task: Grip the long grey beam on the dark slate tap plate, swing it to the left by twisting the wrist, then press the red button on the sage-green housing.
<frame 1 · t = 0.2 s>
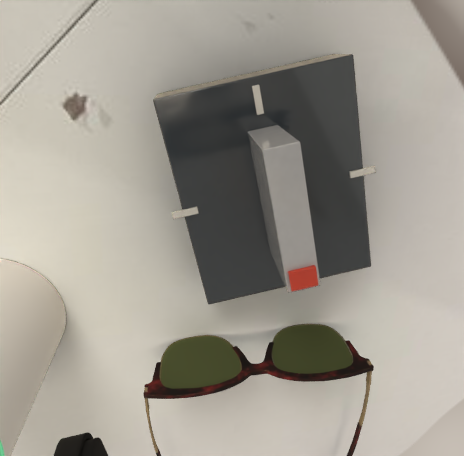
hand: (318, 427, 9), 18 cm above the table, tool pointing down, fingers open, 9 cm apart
sunglasses: (253, 408, 33), on the table
tap plate: (264, 177, 26), on the table
long grey beam: (283, 206, 21), point 5 cm above the table, hinge at 0.0°
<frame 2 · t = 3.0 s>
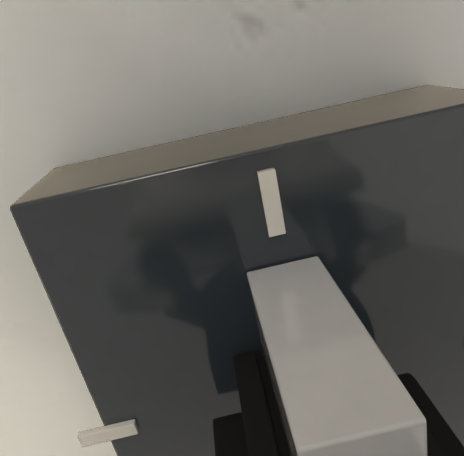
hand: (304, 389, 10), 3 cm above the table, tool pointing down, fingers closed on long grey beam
tap plate: (278, 316, 13), on the table
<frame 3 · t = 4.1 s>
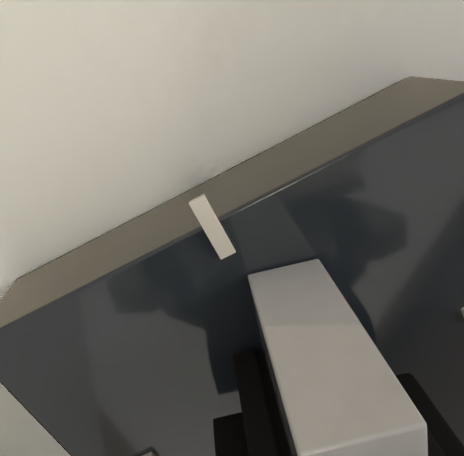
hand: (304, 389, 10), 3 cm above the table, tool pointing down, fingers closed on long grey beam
tap plate: (279, 317, 13), on the table
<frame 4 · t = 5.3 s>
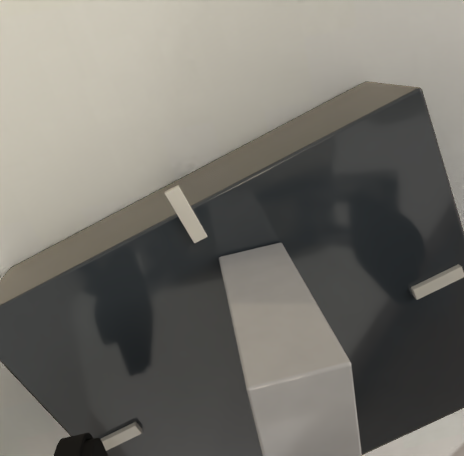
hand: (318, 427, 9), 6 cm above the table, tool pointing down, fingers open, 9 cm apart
tap plate: (254, 302, 14), on the table
long grey beam: (295, 431, 9), point 5 cm above the table, hinge at 74.9°
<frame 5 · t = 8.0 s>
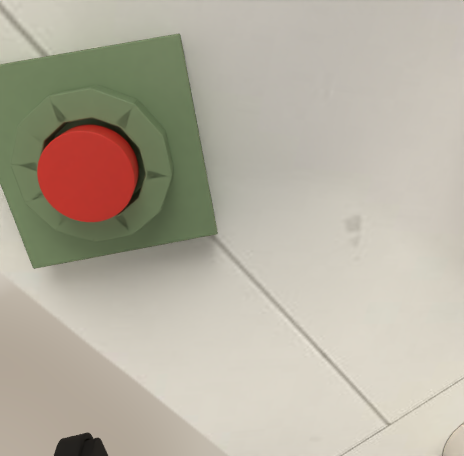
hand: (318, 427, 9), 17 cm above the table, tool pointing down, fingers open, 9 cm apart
button box: (107, 151, 23), on the table
button: (90, 173, 19), point 4 cm above the table, slide at 0.1 cm
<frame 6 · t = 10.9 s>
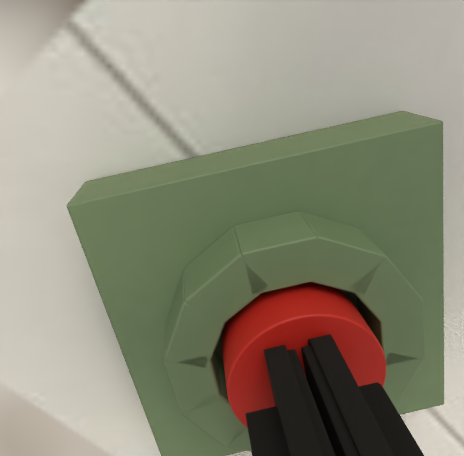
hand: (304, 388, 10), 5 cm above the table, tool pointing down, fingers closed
button box: (271, 284, 15), on the table
button: (299, 360, 11), point 4 cm above the table, slide at -0.4 cm, touching gripper
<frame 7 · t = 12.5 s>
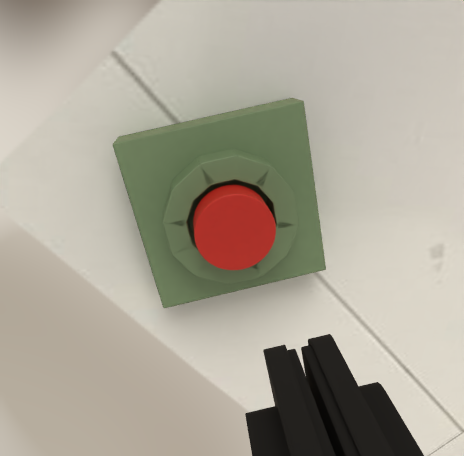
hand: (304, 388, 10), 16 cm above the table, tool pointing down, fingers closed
button box: (224, 200, 26), on the table
button: (233, 227, 21), point 4 cm above the table, slide at 0.1 cm
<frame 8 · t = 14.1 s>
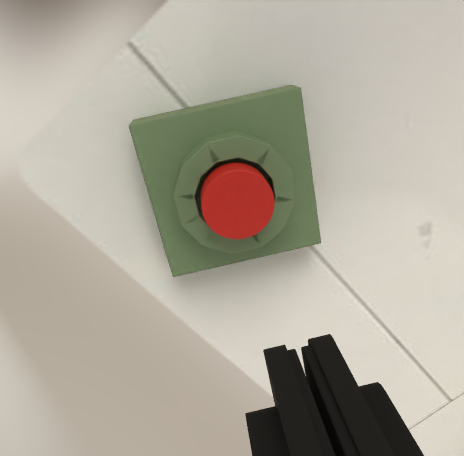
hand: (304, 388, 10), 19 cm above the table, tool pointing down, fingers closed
button box: (228, 179, 28), on the table
button: (236, 200, 24), point 4 cm above the table, slide at 0.1 cm
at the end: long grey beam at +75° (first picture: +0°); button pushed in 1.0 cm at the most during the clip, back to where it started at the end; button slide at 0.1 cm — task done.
